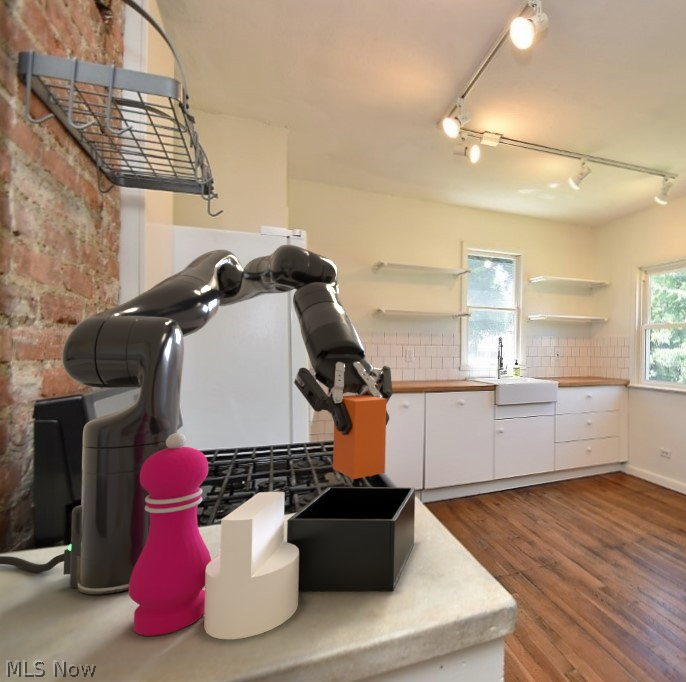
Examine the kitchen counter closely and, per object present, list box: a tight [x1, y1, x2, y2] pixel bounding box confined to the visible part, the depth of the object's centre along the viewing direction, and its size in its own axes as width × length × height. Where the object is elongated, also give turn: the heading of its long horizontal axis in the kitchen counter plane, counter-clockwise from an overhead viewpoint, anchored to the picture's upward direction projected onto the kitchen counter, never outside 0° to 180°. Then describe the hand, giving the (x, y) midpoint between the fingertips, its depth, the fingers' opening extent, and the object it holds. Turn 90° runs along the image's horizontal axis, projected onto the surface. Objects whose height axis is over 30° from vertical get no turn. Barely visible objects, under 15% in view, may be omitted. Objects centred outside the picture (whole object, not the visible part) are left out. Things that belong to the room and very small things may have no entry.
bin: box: [286, 486, 416, 592], centre depth 61 cm, size 13×13×9 cm
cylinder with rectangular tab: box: [203, 491, 299, 640], centre depth 50 cm, size 9×9×12 cm
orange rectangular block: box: [332, 394, 387, 480], centre depth 61 cm, size 4×6×10 cm
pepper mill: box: [128, 432, 212, 637], centre depth 49 cm, size 7×7×20 cm
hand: (365, 428), depth 60 cm, fingers closed on orange rectangular block, 4 cm apart
